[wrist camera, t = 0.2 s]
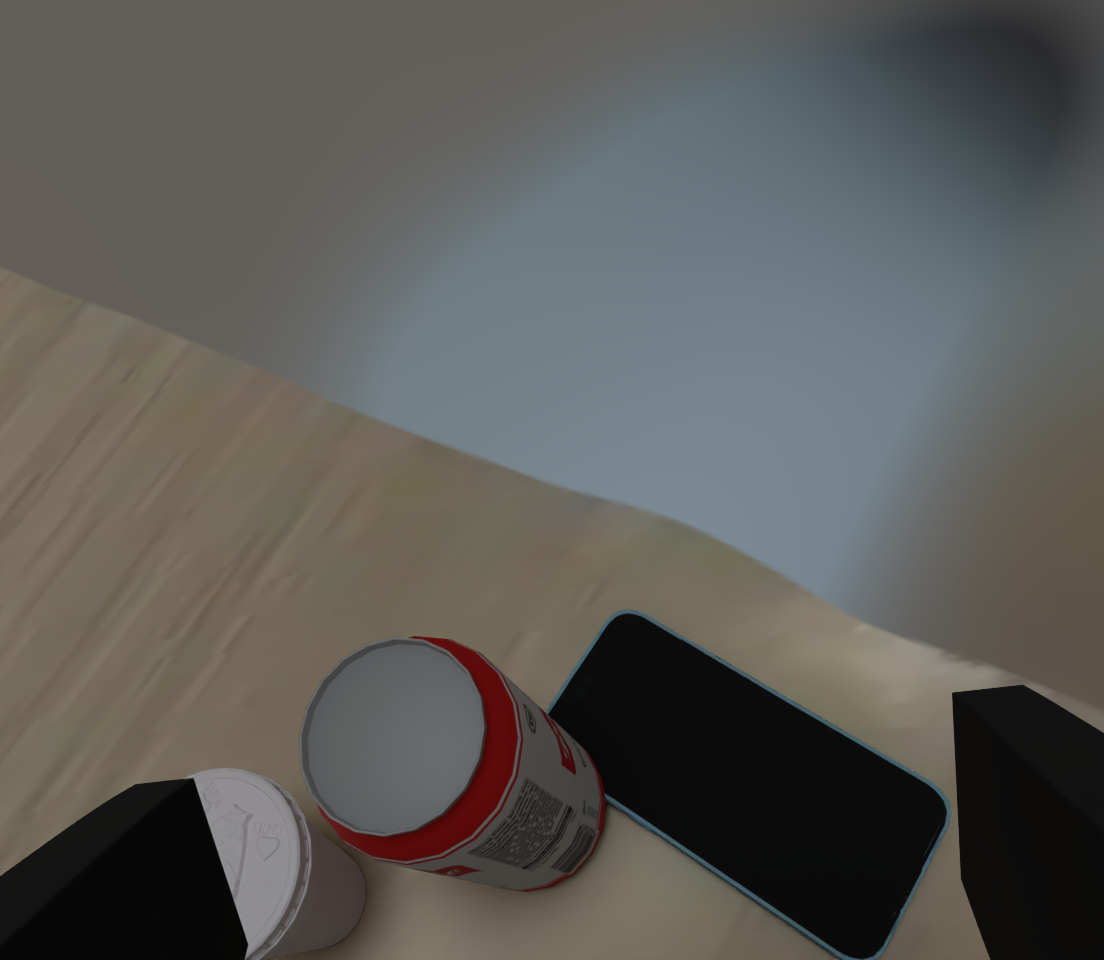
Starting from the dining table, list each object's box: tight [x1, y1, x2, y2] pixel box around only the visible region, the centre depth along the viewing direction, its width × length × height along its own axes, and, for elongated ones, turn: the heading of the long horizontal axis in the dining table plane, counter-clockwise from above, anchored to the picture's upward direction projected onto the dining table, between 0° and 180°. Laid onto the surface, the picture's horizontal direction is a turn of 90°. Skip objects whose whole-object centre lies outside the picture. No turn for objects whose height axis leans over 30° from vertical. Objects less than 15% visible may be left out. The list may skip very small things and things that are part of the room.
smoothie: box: [184, 768, 366, 960], centre depth 34 cm, size 6×6×14 cm
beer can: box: [299, 636, 606, 892], centre depth 33 cm, size 6×6×16 cm
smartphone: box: [545, 609, 951, 960], centre depth 39 cm, size 7×1×15 cm
